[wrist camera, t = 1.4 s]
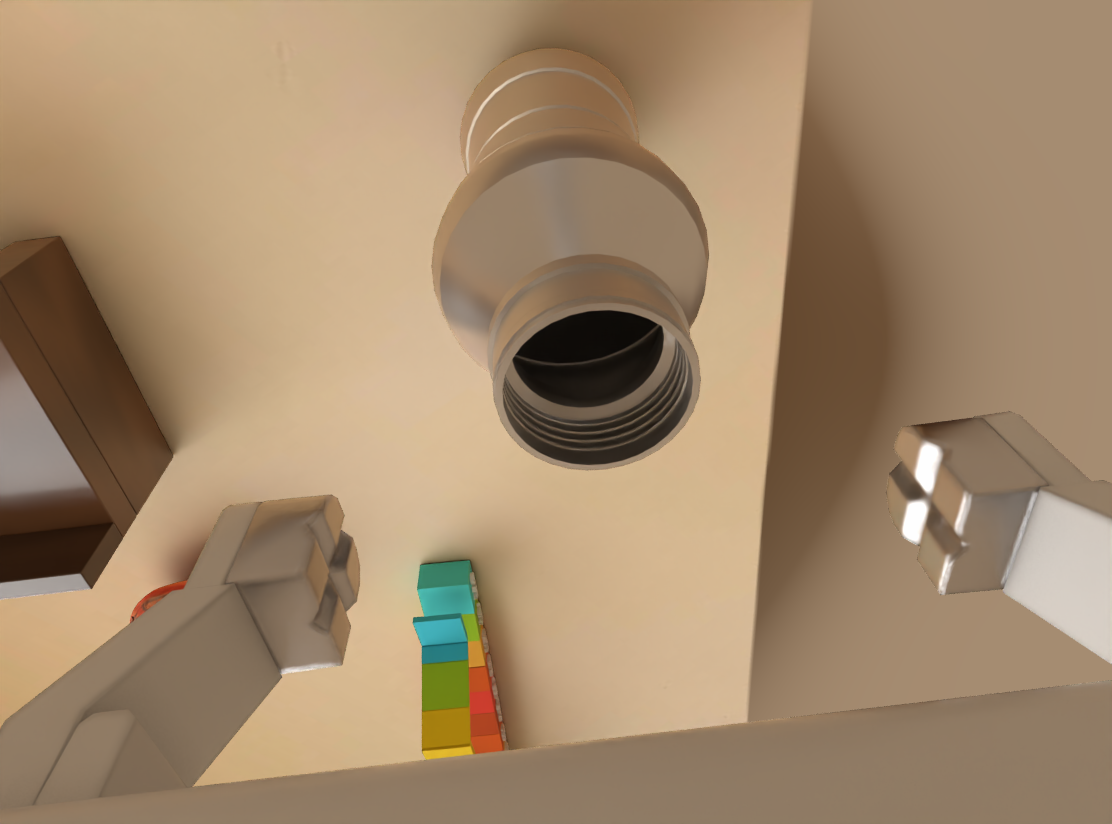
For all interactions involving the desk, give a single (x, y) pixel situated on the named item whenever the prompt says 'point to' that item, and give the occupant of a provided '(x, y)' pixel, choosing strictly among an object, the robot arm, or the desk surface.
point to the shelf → (65, 429)
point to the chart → (456, 666)
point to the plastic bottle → (572, 264)
